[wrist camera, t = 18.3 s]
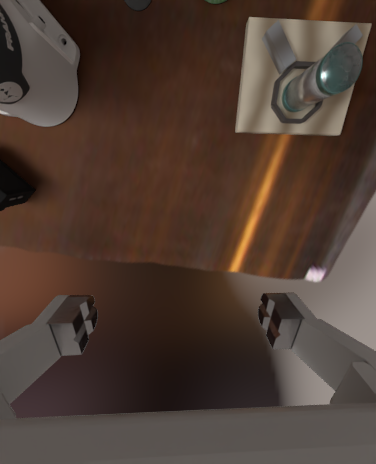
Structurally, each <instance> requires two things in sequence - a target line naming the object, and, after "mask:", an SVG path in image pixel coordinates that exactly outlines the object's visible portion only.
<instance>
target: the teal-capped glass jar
mask: <svg viewBox="0 0 376 464" xmlns="http://www.w3.org/2000/svg"><path fill="white" fill-rule="evenodd" d="M362 63H363V59H362V53H361V51H360V49H359V47H358V46H357V45H355V44H353V43H350V42H345V43H341V44H339V45H337V46H336V47H334V48H333V49H332V50H330V51H329V52H328V53H327V54H326V55H325V56H324V57H322V58H321V59H320V60H318V61H317V62H316V63H314V64H313V65H312V66H311V67H309V68H308V69H307V70H305V71H304V72H303V73H301V74H300V75H299V76H297V77H295V78H294V79H292V80H291V81H290V82H289V83H288V84H287V85H286V86H285V88H284V90H283V93H282V104H283V106H284V108H285V109H286V110H287V111H289V112H298V111H301V110H303V109H305V108H306V107H308V106H310V105H313V104H315V103H317V102H319V101H321V100H324V99H326V98H328V97H330V96H333V95H336V94H339V93H341V92H343V91H345V90H347V89H348V88H350V87H351V86H352V85H353V84H354V83H355V81H356V80H357V78H358V76H359V74H360V72H361V69H362Z"/></svg>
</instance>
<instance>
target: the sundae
mask: <svg viewBox="0 0 376 464" xmlns="http://www.w3.org/2000/svg"><path fill="white" fill-rule="evenodd" d="M124 1H125V2H126V4H127V5H128V6H129V7H130V8H132V9H133V10H137V11H140V10H143V9H145V8H147V6H148V5H149V4H150V2H151V0H124Z"/></svg>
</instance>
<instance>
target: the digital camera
mask: <svg viewBox="0 0 376 464" xmlns="http://www.w3.org/2000/svg"><path fill="white" fill-rule="evenodd" d="M32 191H33V192H32ZM34 191H35V189H34V188H33V187H32V186H31V185H29V184H28V183H27V182H26V181H25V180H24V179H22V178H21V177H20V176H19V175H18V174H17V173H15V172H14V171H13V170H12V169H11V168H10V167H8V166H7V165H6V164H5V163H4V162H2V161H1V160H0V211H2V210H4V209H5V208H6V207H10V206H14V205H18V204H22V203H25V202H26V201H27V200H28V198H29V197H30V196H31V195H32V194H33V193H34Z"/></svg>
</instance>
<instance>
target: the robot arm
mask: <svg viewBox="0 0 376 464" xmlns="http://www.w3.org/2000/svg"><path fill="white" fill-rule="evenodd" d="M65 41H67V44H66V45H64V42H65ZM79 59H80V50H79V48H78V46H77V44H76V43H75V42H74V41H73V40H72V38H71V37H70V36H69V35H68V33H67V32H66V31H65V30H64V29H63V27H62V26H61V25H60V24H59V23H58V21H57V20H56V19H55V18H54V17H53V15H52V14H51V13H50V12H49V11H48V9H47V8H46V7H45V6H44V4H43V3H42V2H41V1H40V0H0V114H2V115H6V116H14V117H19V118H21V119H23V120H26V121H28V122H30V123H32V124H35V125H38V126H46V127H47V126H55V125H58V124H60V123H62V122H64V121H65V120H66V119H67V118H68V117H69V116H70V115H71V114H72V112H73V110H74V108H75V106H76V103H77V98H78V81H77V67H78V63H79ZM261 301H262V304H261V305H260V306H259V309H258V318H259V321H260V324H261V326H262V327H263V328H264V329H265V330H267V334H266V337H267V339H268V340H269V343H270V344H271V347H272V349H291V350H292V351H293V352H294V353H295V354H296V355H297V356H298V357H299V358H300V359H301V360H303V362H304V363H306V364H307V365H308V366H309V367H310V368H311V369H312V370H313V371H314V372H315V373H316V374H317V375H319V376H320V377H321V378H322V379H323V380H324V381H325V382H326V383H327V384H328V385H329V386H330V387H332V388H333V389H334V390H335V393H334V395H333V397H332V398H331V400H330V404H329V405H307V406H285V407H261V408H239V409H217V410H216V409H215V410H193V411H172V412H149V413H129V414H128V413H127V414H106V415H85V416H84V415H83V416H61V417H39V418H17V419H16V414H15V412H14V411H13V409H12V408H11V406H10V403H11V402H13V401H14V400H15V399H16V398H17V397H18V396H19V395H20V394H21V393H22V392H23V391H24V390H26V389H27V388H28V387H29V386H30V385H31V384H32V383H33V382H34V381H35V380H36V379H37V378H38V377H40V376H41V375H42V374H43V373H44V372H45V371H46V370H47V369H48V368H49V367H50V366H51V365H52V364H53V363H55V362H56V361H57V360H58V359H59V358H60V357H61V356H63V355H80V354H82V353H83V351H84V349H85V347H86V345H87V343H88V341H89V338H88V334H90V333H91V332H92V331H93V330H94V328H95V326H96V323H97V319H98V312H97V309H96V308H95V307H94V306H93V305H94V303H95V299H94V296H91V295H58V296H56V297H55V298H54V299H53V300H52V301H51V303H50V304H49V305H48V306H47V307H46V308H45V310H44V311H43V312H42V313H41V314H40V315H39V316H38V318H37V319H36V320H35V321H34V322H33V323H32V324H31V325H26V326H25V327H23V328H21V329H19V330H17V331H16V332H14V333H12V334H11V335H9V336H8V337H5V338H4V339H2V340H0V464H376V351H374V350H373V349H371V348H369V347H368V346H366V345H364V344H362V343H361V342H359V341H357V340H356V339H354V338H352V337H350V336H349V335H347V334H345V333H344V332H342V331H340V330H338V329H337V328H335V327H333V326H332V325H330V324H328V323H326V322H325V321H323V320H321V319H317V318H316V317H315V316H314V315H313V314H312V312H311V311H310V310H309V309H308V307H306V305H305V304H304V303H303V302H302V300H301V299H300V298H299V297H298V296H297V295H296V294H295V293H263V294H262V296H261Z"/></svg>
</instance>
